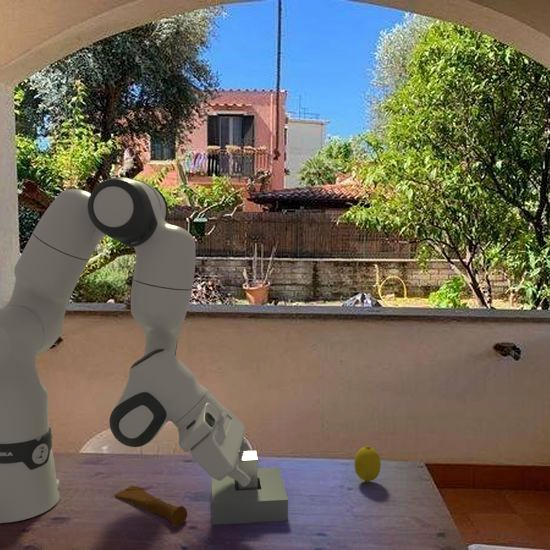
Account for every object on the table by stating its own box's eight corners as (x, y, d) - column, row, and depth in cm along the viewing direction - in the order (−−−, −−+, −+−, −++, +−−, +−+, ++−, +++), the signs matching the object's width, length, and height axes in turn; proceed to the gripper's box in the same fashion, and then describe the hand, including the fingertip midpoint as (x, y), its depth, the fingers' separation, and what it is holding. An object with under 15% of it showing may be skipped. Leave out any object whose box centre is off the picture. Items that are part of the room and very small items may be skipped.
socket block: (211, 524, 98) (211, 503, 98) (211, 488, 112) (211, 469, 112) (287, 520, 100) (288, 499, 100) (278, 485, 114) (278, 467, 113)
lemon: (383, 479, 117) (384, 444, 116) (375, 490, 112) (376, 453, 111) (358, 474, 119) (359, 439, 119) (350, 484, 114) (351, 448, 114)
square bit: (238, 508, 104) (239, 460, 102) (237, 498, 107) (238, 451, 106) (256, 507, 104) (257, 459, 103) (255, 497, 108) (256, 450, 106)
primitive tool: (111, 497, 109) (111, 480, 109) (134, 488, 113) (134, 471, 113) (174, 531, 97) (174, 512, 97) (196, 519, 101) (196, 501, 101)
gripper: (200, 410, 113) (245, 458, 113) (176, 450, 93) (231, 509, 93) (222, 390, 112) (267, 439, 113) (203, 427, 92) (257, 486, 92)
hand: (250, 471), depth 103 cm, fingers open, 8 cm apart
